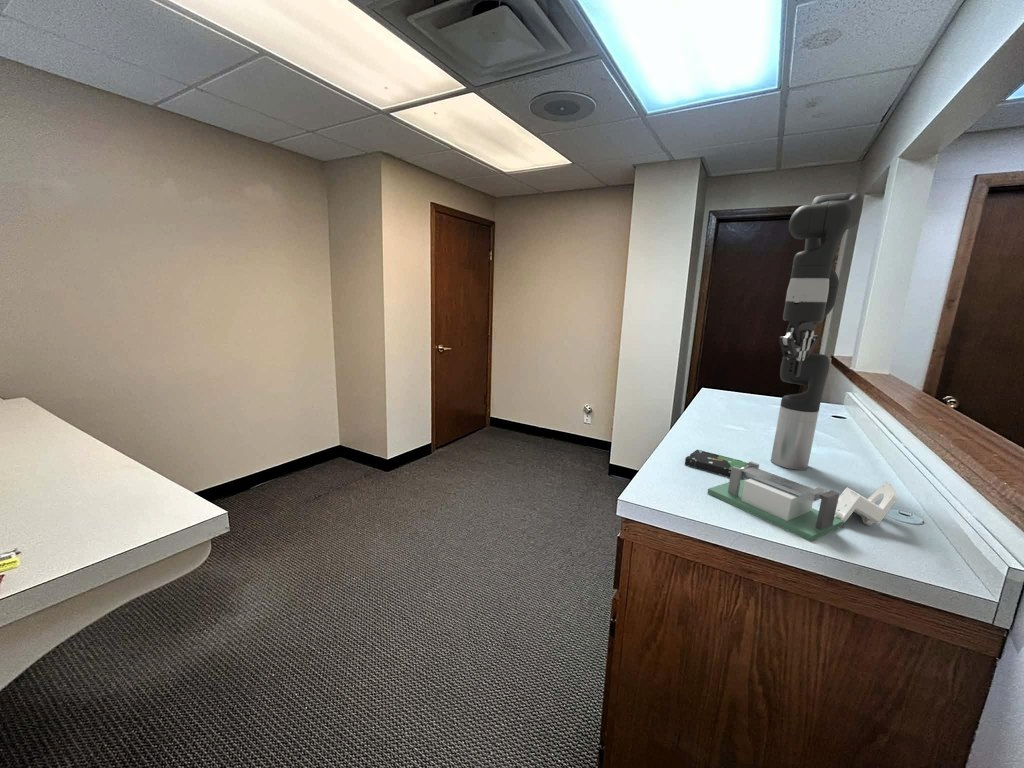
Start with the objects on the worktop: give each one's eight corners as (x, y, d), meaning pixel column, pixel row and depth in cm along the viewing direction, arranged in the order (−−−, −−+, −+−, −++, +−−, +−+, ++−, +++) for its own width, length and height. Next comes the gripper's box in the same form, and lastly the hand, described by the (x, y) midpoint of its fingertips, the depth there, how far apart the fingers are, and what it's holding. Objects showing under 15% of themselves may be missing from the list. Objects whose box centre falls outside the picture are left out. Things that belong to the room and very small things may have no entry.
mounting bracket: (864, 540, 87) (902, 503, 82) (832, 520, 89) (868, 484, 85) (855, 517, 97) (890, 483, 92) (827, 499, 99) (859, 466, 95)
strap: (748, 469, 101) (749, 462, 101) (825, 497, 87) (827, 489, 87) (735, 472, 99) (736, 465, 98) (813, 502, 85) (814, 494, 84)
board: (738, 483, 108) (743, 455, 106) (842, 525, 88) (849, 492, 87) (707, 493, 101) (711, 463, 100) (811, 541, 82) (819, 505, 80)
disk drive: (683, 467, 119) (741, 482, 110) (684, 457, 118) (742, 472, 109) (695, 457, 127) (749, 471, 117) (696, 448, 126) (750, 461, 117)
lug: (824, 521, 88) (831, 489, 86) (832, 524, 86) (839, 492, 85) (812, 526, 85) (819, 494, 84) (820, 530, 84) (827, 497, 82)
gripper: (802, 299, 98) (790, 371, 102) (772, 299, 91) (760, 375, 95) (839, 300, 92) (824, 376, 95) (809, 300, 85) (795, 382, 89)
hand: (792, 376), depth 95 cm, fingers closed
